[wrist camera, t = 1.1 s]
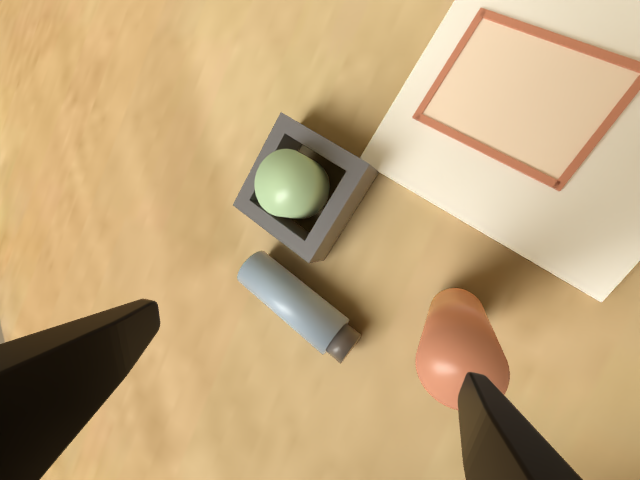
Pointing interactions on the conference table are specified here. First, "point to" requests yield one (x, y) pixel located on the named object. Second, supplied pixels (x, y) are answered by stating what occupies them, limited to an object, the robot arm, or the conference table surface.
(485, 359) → the salmon rounded cylinder
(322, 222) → the button housing
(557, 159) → the sheet
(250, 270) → the grey cylinder
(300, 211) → the button
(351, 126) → the conference table surface
